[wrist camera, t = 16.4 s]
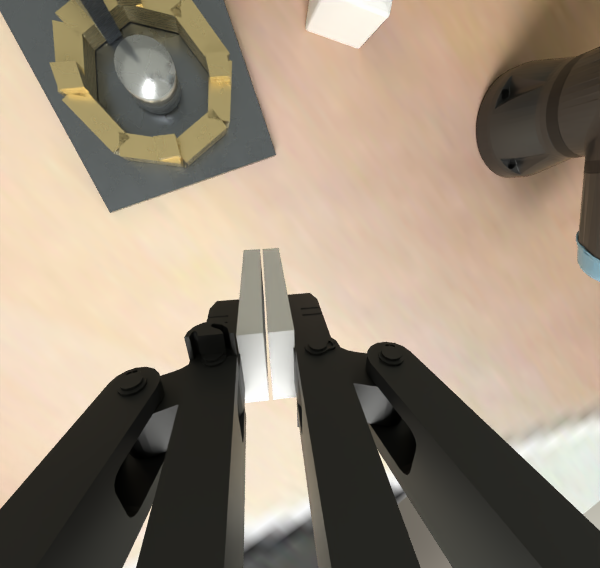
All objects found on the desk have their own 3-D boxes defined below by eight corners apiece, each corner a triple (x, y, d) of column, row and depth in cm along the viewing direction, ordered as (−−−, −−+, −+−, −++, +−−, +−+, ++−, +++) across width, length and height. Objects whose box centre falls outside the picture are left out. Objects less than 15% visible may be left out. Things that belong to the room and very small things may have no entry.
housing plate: (206, -44, 31) (204, -98, 25) (274, 156, 38) (284, 147, 32) (0, 3, 28) (-54, -47, 22) (112, 212, 34) (92, 213, 29)
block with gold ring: (257, 106, 35) (271, 74, 26) (156, 193, 34) (137, 189, 26) (111, -96, 27) (65, -229, 19) (-20, 10, 27) (-127, -79, 18)
